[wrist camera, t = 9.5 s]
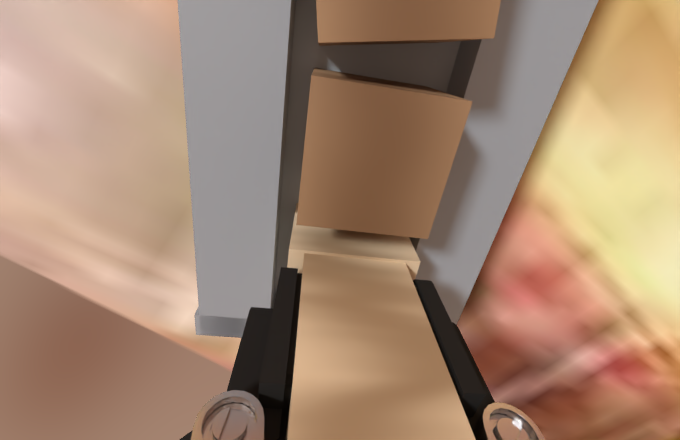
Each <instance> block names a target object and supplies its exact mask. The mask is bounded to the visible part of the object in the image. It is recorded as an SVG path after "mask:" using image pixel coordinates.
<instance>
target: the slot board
mask: <svg viewBox="0 0 680 440" xmlns="http://www.w3.org/2000/svg"><path fill="white" fill-rule="evenodd" d="M597 3H598V0H501V2H500V8H499V14H498V19H497V25H496V30H495V36H494V38H492V39H479V40H467V41H454V42H441V43H410V44H371V45H331V46H319V44H318V30H317V10H316V0H178V12H179V27H180V41H181V56H182V70H183V85H184V99H185V114H186V128H187V143H188V157H189V172H190V186H191V201H192V215H193V230H194V244H195V259H196V273H197V287H198V302H199V307H198V309H197V311H196V313H195V326H196V335H209V336H224V337H239V338H242V335H243V331H244V328H245V324H246V321H247V317H248V314H249V310H250V308H251V307H258V308H272V309H273V306H274V301H275V296H276V291H277V285H278V280H279V275H280V270H281V267H287V265H288V254H289V246H290V240H291V234H292V228H293V222H294V216H295V210H296V204H297V203H298V202H299V192H300V182H301V172H302V162H303V152H304V142H305V133H306V123H307V113H308V103H309V93H310V83H311V75H312V73H313V70H314V68H319V69H325V70H331V71H337V72H343V73H349V74H355V75H361V76H367V77H373V78H379V79H385V80H391V81H397V82H403V83H409V84H415V85H421V86H427V87H430V88H433V89H436V90H439V91H442V92H445V93H448V94H451V95H454V96H457V97H460V98H463V99H466V100H469V101H472V105H471V108H470V112H469V115H468V118H467V121H466V124H465V127H464V130H463V133H462V136H461V139H460V142H459V145H458V148H457V151H456V154H455V158H454V161H453V164H452V167H451V170H450V173H449V176H448V179H447V182H446V185H445V188H444V191H443V194H442V197H441V200H440V204H439V207H438V210H437V213H436V216H435V219H434V222H433V225H432V228H431V231H430V234H429V237H428V239H422V238H413V237H409V238H410V240H411V243H412V245H413V247H414V249H415V251H416V253H417V255H418V257H419V260H420V265H419V268H418V271H417V275H416V278H415V279H418V280H429V281H432V282H433V284H434V286H435V288H436V290H437V292H438V294H439V297H440V299H441V301H442V303H443V305H444V307H445V309H446V311H447V313H448V315H449V317H450V320H451V322H453V323H455V324H456V325H457V323H458V320H459V318H460V316H461V313H462V311H463V309H464V307H465V304H466V302H467V300H468V297H469V295H470V293H471V291H472V288H473V286H474V284H475V281H476V279H477V277H478V275H479V272H480V270H481V268H482V265H483V263H484V261H485V259H486V256H487V254H488V252H489V249H490V247H491V245H492V243H493V240H494V238H495V236H496V233H497V231H498V229H499V227H500V224H501V222H502V220H503V217H504V215H505V213H506V211H507V208H508V206H509V204H510V201H511V199H512V197H513V195H514V192H515V190H516V188H517V185H518V183H519V181H520V179H521V176H522V174H523V172H524V169H525V167H526V165H527V163H528V160H529V158H530V156H531V153H532V151H533V149H534V147H535V144H536V142H537V140H538V138H539V135H540V133H541V131H542V128H543V126H544V124H545V122H546V119H547V117H548V115H549V112H550V110H551V108H552V106H553V103H554V101H555V99H556V96H557V94H558V92H559V90H560V87H561V85H562V83H563V80H564V78H565V76H566V74H567V71H568V69H569V67H570V64H571V62H572V60H573V58H574V55H575V53H576V51H577V48H578V46H579V44H580V42H581V39H582V37H583V35H584V32H585V30H586V28H587V26H588V23H589V21H590V19H591V16H592V14H593V12H594V10H595V7H596V5H597Z"/></svg>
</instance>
